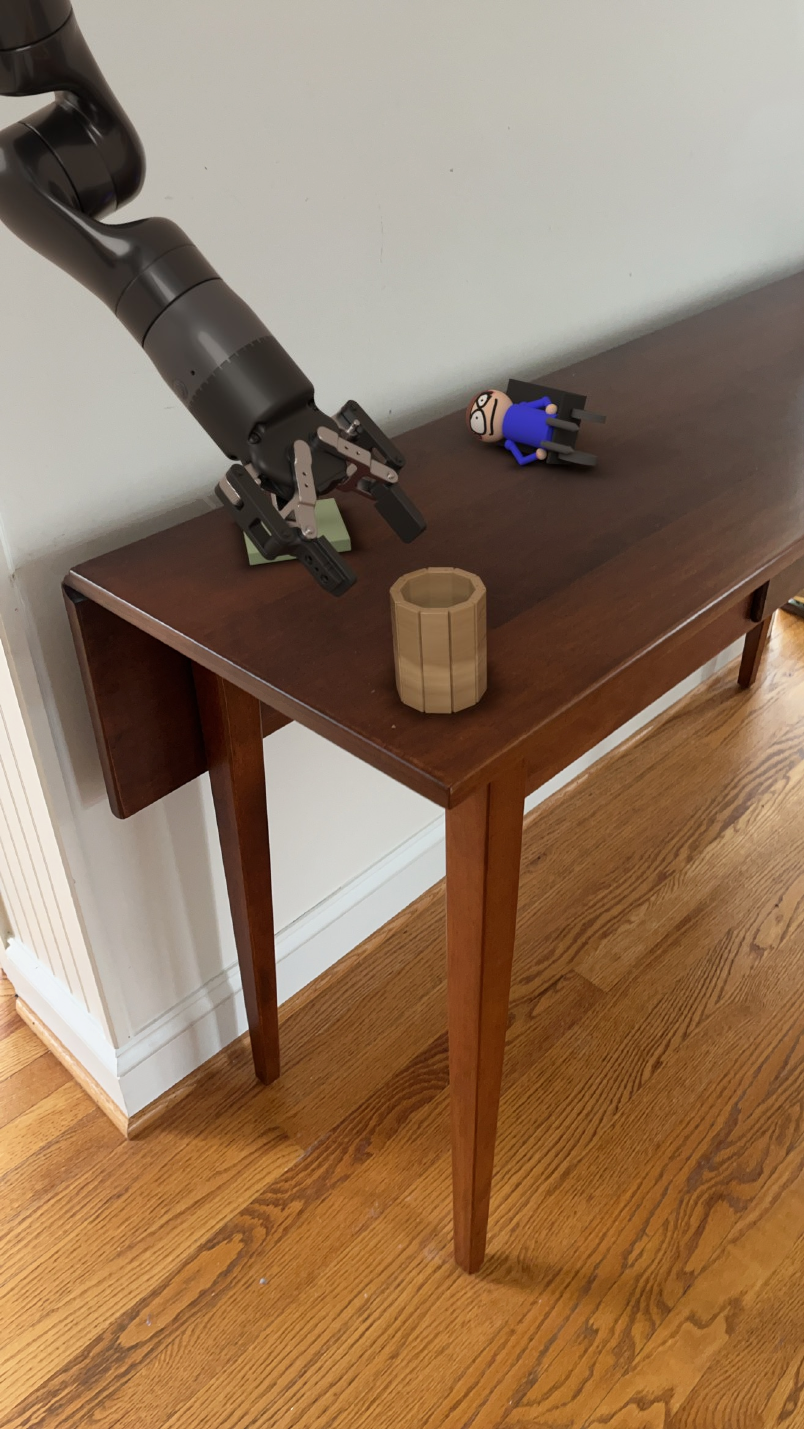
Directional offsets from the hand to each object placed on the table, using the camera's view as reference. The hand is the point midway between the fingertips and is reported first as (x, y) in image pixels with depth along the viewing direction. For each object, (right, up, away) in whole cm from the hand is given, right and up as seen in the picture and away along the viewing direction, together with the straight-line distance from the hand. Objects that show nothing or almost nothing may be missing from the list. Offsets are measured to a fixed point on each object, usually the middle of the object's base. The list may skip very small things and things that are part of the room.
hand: (384, 561), depth 69 cm
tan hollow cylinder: (+4, -8, +3) cm, 10 cm away
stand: (-9, +6, +24) cm, 26 cm away
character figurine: (+15, +16, +35) cm, 41 cm away
